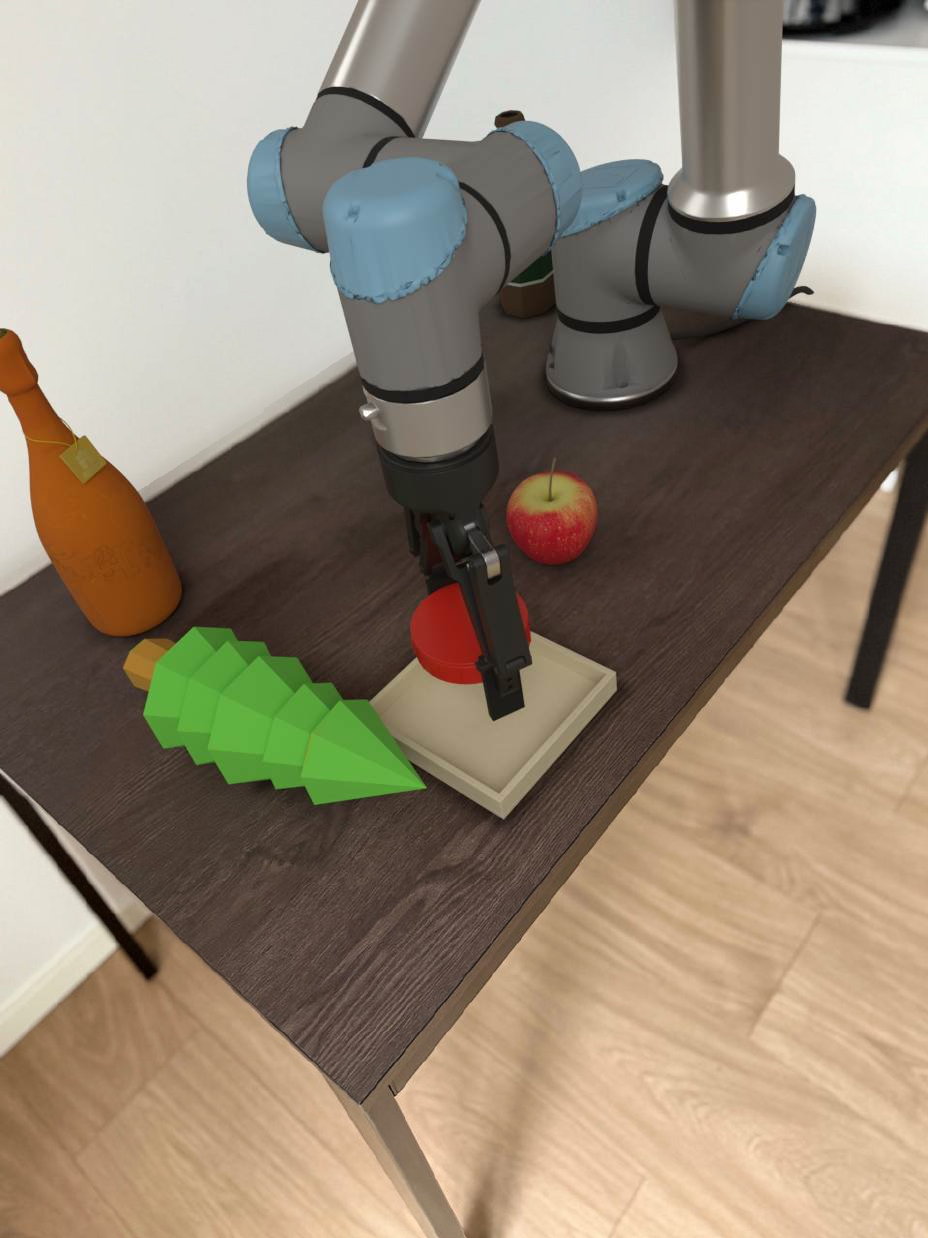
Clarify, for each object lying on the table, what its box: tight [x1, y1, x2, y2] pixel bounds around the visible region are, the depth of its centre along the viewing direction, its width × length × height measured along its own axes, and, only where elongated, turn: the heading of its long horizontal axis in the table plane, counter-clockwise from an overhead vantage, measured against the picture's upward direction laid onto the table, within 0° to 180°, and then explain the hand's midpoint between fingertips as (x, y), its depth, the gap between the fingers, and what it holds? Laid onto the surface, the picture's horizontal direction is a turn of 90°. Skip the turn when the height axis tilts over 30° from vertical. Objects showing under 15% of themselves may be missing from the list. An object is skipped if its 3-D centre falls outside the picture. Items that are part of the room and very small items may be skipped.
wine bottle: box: [0, 327, 183, 637], centre depth 85 cm, size 10×10×30 cm
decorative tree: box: [122, 626, 428, 806], centre depth 74 cm, size 11×12×30 cm
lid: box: [409, 583, 531, 685], centre depth 72 cm, size 9×9×2 cm
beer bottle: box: [493, 109, 556, 319], centre depth 120 cm, size 8×8×24 cm
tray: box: [369, 630, 618, 820], centre depth 78 cm, size 15×15×2 cm
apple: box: [505, 457, 598, 566], centre depth 88 cm, size 8×8×10 cm
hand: (479, 671), depth 75 cm, fingers closed on lid, 9 cm apart
